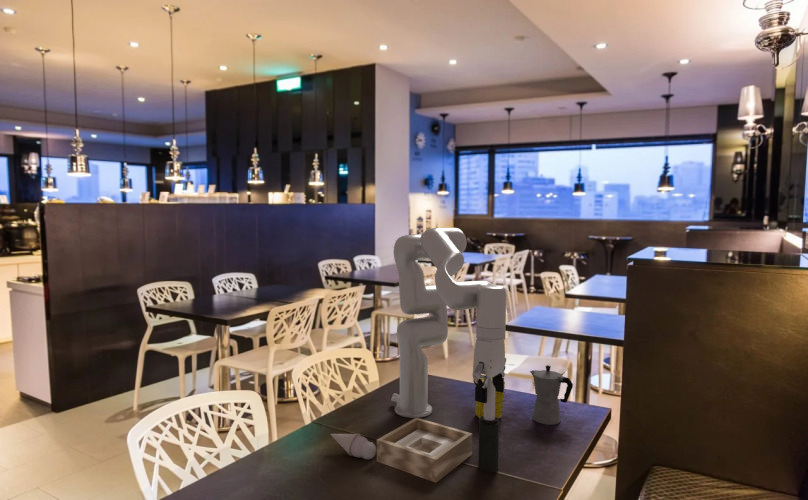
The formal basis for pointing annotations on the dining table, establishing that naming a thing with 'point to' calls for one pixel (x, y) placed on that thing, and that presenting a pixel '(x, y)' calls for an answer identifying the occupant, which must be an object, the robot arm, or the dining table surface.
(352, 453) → the ice cream cone
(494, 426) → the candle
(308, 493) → the dining table surface
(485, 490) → the dining table surface
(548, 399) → the coffeepot
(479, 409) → the food
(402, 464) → the box
